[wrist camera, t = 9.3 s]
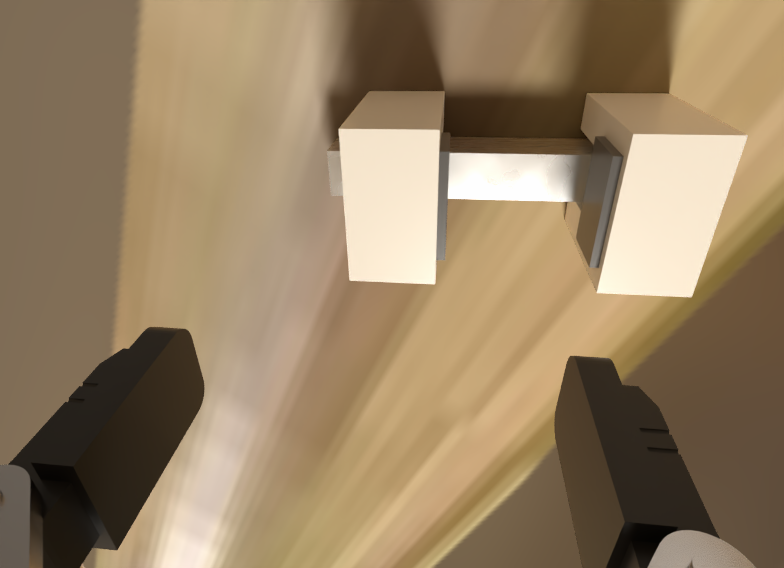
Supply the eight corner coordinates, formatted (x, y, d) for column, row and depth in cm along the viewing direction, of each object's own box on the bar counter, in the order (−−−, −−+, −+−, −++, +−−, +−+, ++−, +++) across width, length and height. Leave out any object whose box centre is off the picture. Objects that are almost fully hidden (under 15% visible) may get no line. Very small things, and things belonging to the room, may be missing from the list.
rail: (338, 135, 28) (327, 150, 25) (657, 139, 26) (679, 156, 24) (342, 176, 29) (330, 195, 27) (646, 183, 27) (665, 204, 25)
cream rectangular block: (369, 91, 27) (338, 128, 20) (452, 90, 26) (450, 129, 19) (374, 213, 30) (349, 280, 23) (447, 215, 30) (444, 284, 23)
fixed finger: (578, 93, 26) (622, 133, 19) (669, 93, 25) (748, 135, 18) (557, 219, 29) (587, 292, 22) (636, 222, 29) (691, 297, 22)
